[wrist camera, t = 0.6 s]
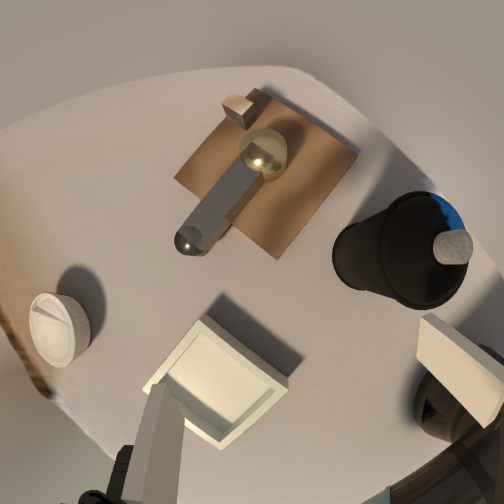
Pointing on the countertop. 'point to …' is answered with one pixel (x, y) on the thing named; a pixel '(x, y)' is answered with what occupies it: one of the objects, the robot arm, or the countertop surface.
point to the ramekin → (59, 328)
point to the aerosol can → (406, 252)
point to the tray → (218, 383)
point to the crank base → (282, 189)
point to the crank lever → (233, 190)
